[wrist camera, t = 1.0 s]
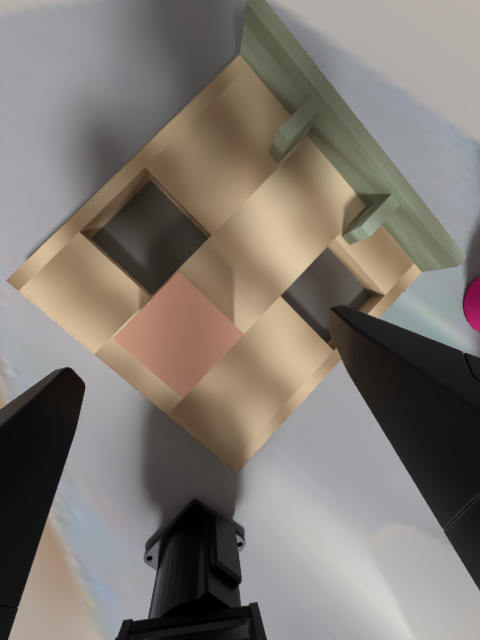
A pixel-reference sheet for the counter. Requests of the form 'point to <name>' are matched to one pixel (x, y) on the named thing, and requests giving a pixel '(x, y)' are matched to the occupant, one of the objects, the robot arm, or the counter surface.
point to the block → (179, 335)
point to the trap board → (244, 239)
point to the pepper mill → (473, 304)
